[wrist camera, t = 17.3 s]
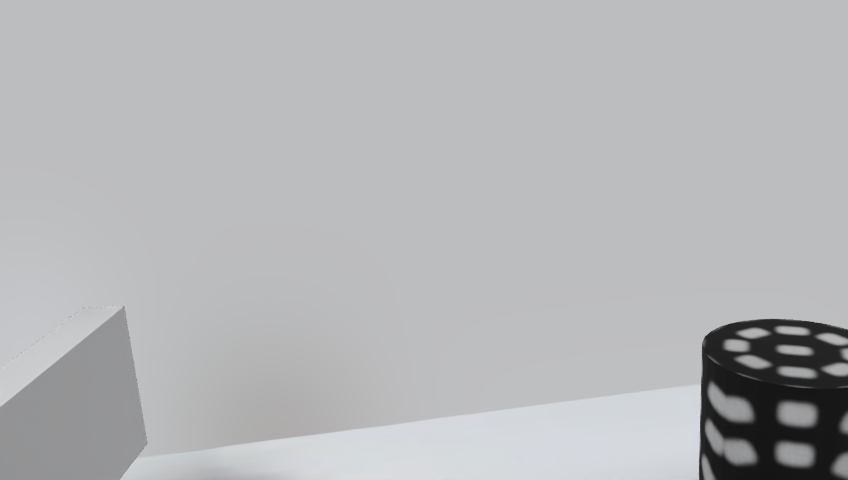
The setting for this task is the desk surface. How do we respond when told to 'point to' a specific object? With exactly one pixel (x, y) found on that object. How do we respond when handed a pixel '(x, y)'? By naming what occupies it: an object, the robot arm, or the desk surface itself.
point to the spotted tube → (774, 401)
